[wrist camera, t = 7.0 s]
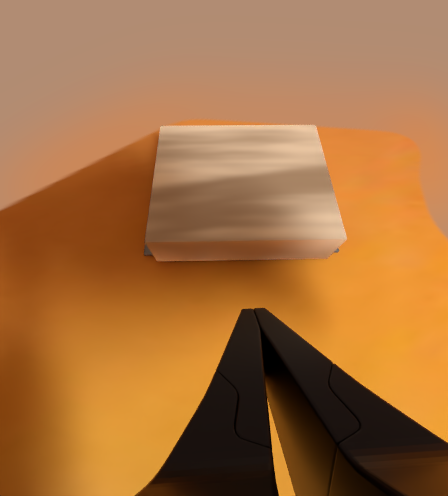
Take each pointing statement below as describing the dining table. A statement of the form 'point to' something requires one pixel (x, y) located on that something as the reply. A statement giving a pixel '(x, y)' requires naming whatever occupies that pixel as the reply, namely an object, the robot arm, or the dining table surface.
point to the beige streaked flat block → (242, 195)
